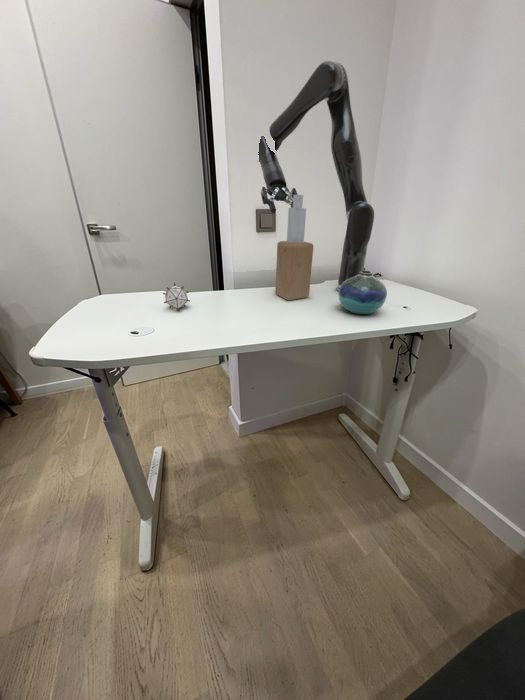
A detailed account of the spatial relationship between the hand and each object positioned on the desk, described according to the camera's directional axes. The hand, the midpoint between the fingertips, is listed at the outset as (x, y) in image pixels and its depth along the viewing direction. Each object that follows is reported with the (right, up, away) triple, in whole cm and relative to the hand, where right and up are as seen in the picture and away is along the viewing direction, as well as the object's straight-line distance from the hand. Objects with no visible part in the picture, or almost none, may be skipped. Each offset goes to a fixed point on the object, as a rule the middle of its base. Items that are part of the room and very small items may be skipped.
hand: (284, 212), depth 108 cm
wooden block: (+3, -31, +6) cm, 31 cm away
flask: (+3, -13, -4) cm, 14 cm away
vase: (+25, -38, -8) cm, 46 cm away
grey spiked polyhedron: (-37, -38, -10) cm, 54 cm away
